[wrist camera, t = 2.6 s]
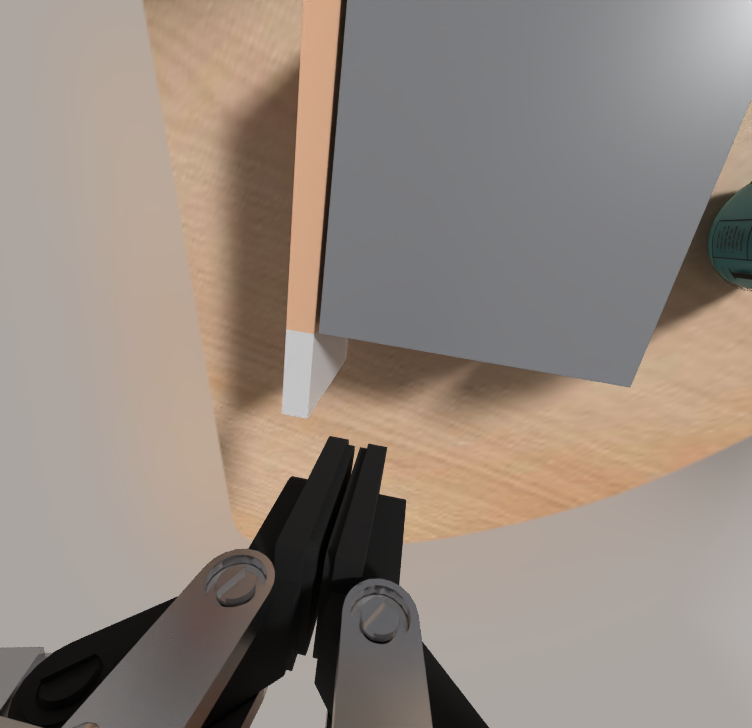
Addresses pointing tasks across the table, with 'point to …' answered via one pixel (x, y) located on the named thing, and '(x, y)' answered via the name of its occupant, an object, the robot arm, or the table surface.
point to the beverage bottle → (733, 239)
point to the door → (313, 209)
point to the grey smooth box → (526, 173)
